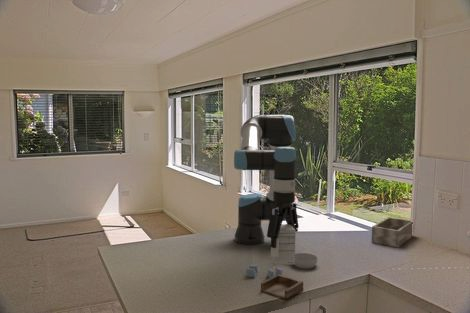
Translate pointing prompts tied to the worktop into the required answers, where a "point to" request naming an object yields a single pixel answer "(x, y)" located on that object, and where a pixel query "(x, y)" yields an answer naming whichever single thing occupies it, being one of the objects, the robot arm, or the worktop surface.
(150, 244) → the worktop surface
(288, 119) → the robot arm
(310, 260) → the saucepan
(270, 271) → the clip
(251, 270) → the clip
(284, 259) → the supplement box
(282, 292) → the wooden tray
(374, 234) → the box
